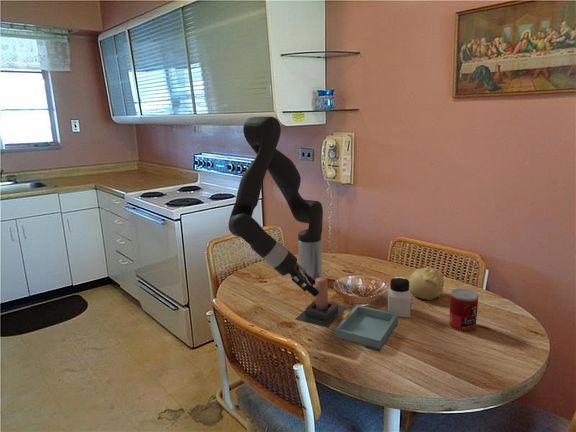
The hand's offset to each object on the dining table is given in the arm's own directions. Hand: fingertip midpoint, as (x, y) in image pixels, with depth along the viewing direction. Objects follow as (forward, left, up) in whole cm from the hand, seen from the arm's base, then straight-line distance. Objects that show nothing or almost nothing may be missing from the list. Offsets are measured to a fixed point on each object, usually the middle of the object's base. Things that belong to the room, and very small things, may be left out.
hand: (315, 289), depth 136 cm
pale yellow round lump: (-32, +29, -10) cm, 44 cm away
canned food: (-15, +44, -10) cm, 47 cm away
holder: (-1, +2, -10) cm, 10 cm away
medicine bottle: (-15, +24, -10) cm, 30 cm away
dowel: (-1, +2, -9) cm, 9 cm away
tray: (+2, +19, -10) cm, 21 cm away
